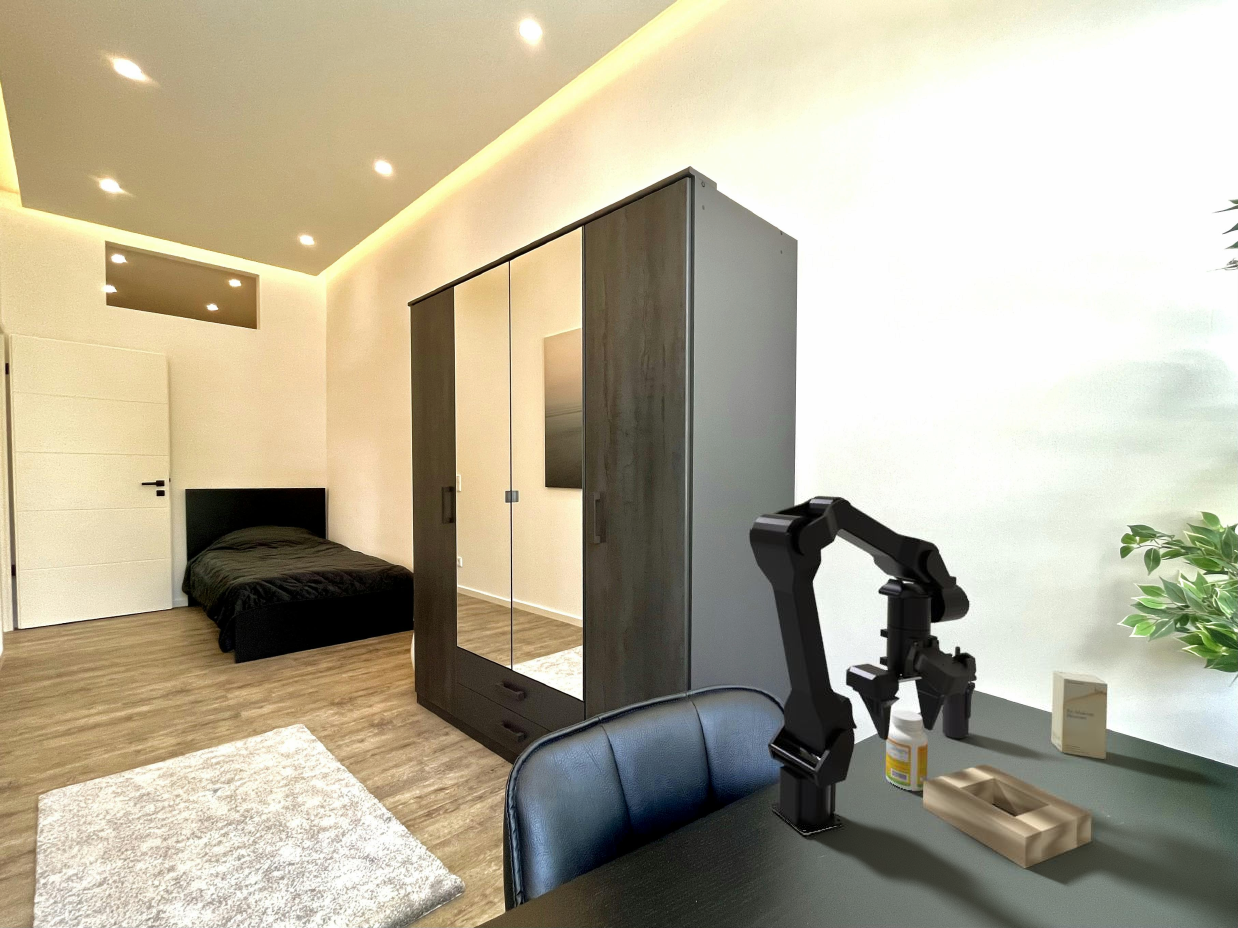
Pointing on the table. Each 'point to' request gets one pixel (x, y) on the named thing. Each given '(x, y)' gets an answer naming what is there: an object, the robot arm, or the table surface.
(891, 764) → the supplement bottle
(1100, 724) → the skincare box
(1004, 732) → the table surface
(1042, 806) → the socket block
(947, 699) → the two-way radio
